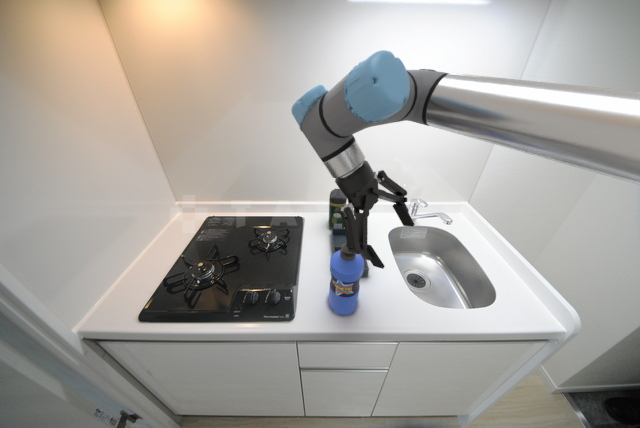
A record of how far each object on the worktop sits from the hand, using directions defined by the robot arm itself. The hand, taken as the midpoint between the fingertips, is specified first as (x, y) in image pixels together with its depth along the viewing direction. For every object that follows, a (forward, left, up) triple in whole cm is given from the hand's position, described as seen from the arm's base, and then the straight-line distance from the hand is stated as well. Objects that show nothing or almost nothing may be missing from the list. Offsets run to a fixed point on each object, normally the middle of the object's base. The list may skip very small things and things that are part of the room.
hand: (394, 244), depth 49 cm
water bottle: (0, +11, -29) cm, 31 cm away
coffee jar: (+38, +26, -29) cm, 54 cm away
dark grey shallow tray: (+21, +16, -29) cm, 39 cm away
